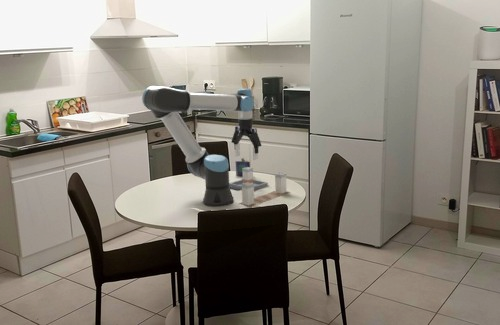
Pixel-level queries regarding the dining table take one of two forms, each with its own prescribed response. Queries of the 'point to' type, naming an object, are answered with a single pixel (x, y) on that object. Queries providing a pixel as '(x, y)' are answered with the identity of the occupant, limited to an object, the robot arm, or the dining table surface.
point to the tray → (238, 184)
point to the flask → (241, 166)
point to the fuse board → (265, 198)
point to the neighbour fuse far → (280, 182)
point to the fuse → (248, 193)
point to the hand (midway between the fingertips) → (246, 157)
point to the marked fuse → (247, 175)
